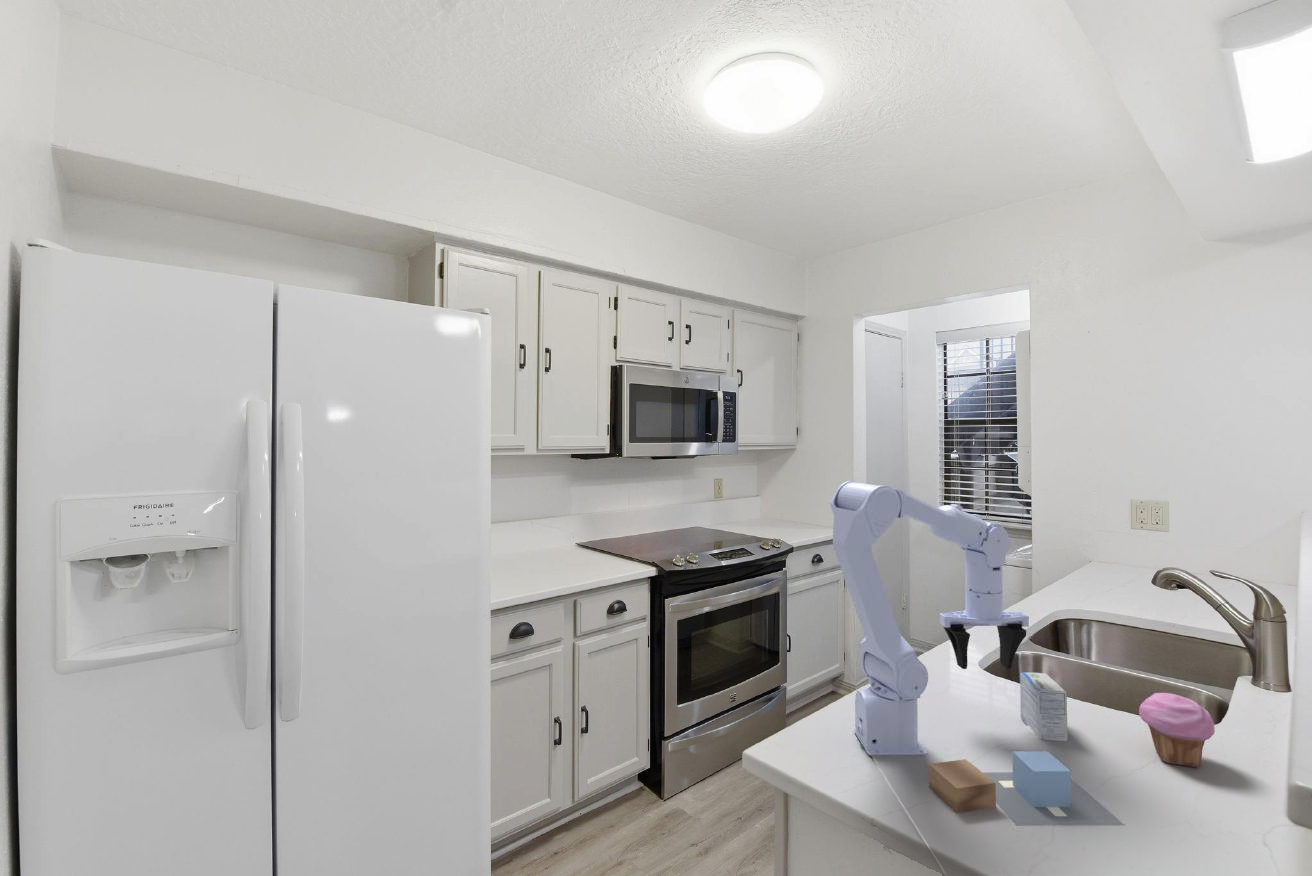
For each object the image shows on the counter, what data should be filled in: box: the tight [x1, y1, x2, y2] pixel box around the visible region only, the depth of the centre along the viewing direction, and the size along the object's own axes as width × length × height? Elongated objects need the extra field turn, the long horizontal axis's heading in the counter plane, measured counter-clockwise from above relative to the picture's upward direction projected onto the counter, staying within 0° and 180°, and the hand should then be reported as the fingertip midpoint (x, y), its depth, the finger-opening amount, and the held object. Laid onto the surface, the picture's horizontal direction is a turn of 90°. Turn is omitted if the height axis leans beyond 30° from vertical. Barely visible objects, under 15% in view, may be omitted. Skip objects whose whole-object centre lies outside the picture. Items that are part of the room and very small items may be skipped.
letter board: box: [981, 771, 1125, 827], centre depth 84 cm, size 14×12×1 cm
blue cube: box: [1012, 750, 1072, 807], centre depth 85 cm, size 5×5×5 cm
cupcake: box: [1138, 692, 1215, 768], centre depth 94 cm, size 9×9×10 cm
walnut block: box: [928, 759, 997, 814], centre depth 85 cm, size 6×6×4 cm
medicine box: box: [1019, 671, 1069, 742], centre depth 103 cm, size 8×4×9 cm, turn 168°
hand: (983, 666), depth 105 cm, fingers open, 7 cm apart
